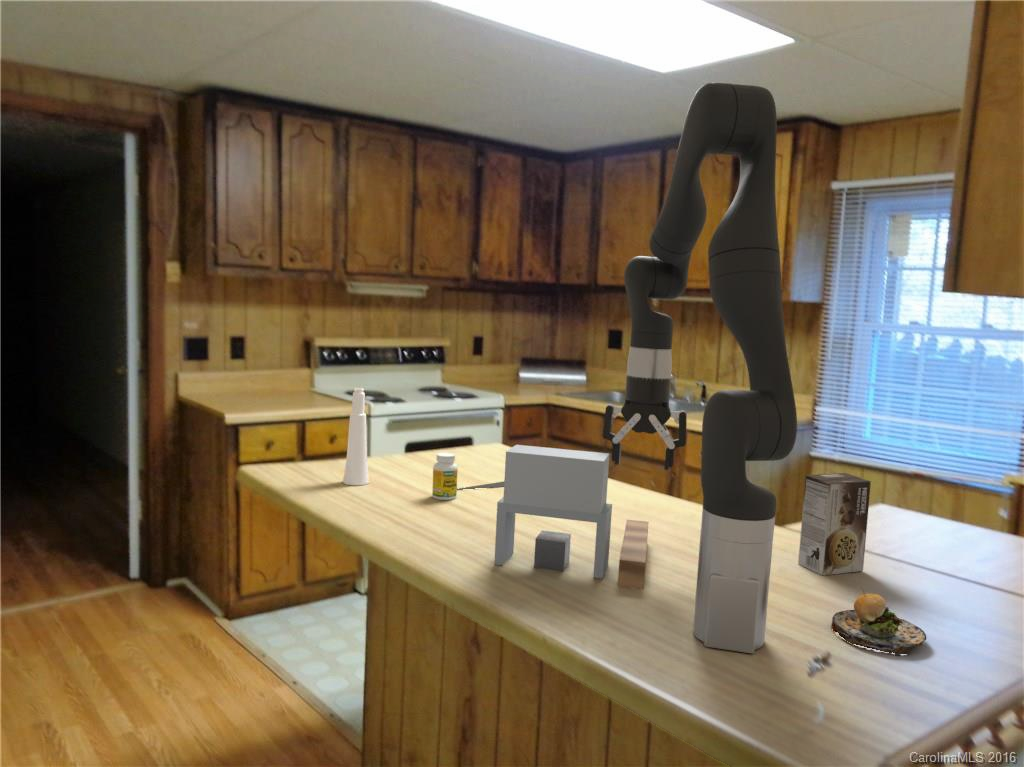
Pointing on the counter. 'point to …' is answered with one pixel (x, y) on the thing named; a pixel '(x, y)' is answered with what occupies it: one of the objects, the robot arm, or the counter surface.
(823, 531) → the coffee box
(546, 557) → the cube
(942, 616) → the counter surface
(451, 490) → the supplement bottle
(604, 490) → the cabinet
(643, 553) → the bar
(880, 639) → the burger
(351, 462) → the cosmetic bottle
